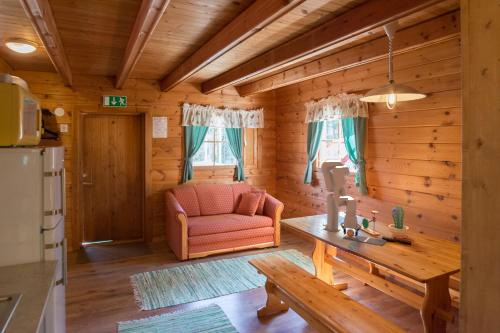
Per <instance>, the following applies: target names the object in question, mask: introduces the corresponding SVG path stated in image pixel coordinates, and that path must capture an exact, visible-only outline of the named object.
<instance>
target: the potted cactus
mask: <svg viewBox="0 0 500 333" xmlns="http://www.w3.org/2000/svg"><path fill="white" fill-rule="evenodd" d="M390 212H391V217H392V220H393V224H388V226H387V227H388V229H389V231H390V233H391V237H393V238H395V237H396V239H403V238H405V235H406V234H407V233H408V231H409V229H410V228H409V226H407V225H404V218H405V210H404V208H403V207H402V206H401V205H395V206H394V207H393V208H392V209H391V210H390Z"/></svg>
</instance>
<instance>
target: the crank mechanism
mask: <svg viewBox="0 0 500 333" xmlns="http://www.w3.org/2000/svg"><path fill="white" fill-rule="evenodd" d="M370 213H371V214H373V216H372V219H371V220H369V219H367V217H363V218H362V222H361V224H362V225H361V226H362V227H361V229H360V230H359V231H362V232H364V233H366V234H368V235H370V236H372V237H377V236H380V233H379V232H377V231H375V230H374V229H370V228H369V225H370V223H371V222H373V227H375V223H377V216H376V215H379V211H377V210H371V211H370ZM357 229H359V227H357Z"/></svg>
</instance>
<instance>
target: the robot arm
mask: <svg viewBox="0 0 500 333" xmlns="http://www.w3.org/2000/svg"><path fill="white" fill-rule="evenodd" d="M320 167H321V173H322V175H323V178H324V179H323V180H324V185H325V188H326V192H328V193H329V194H328V195H326V200H325V201H326V207H327V208H326V211H327V213H326V223H322V226H323V227H324V230H326V231H327V232H328V231H329V232H340V231H341V228H342V230H343V235H345V236H346V235H347V229H352V230H355V231H354V235H355V236H359V231H361V230H360V229H361V227H362V226H363V225H360V224H359V223H358V222H359V221H358V216H357V199H356V198H353V197H351V196H347V193H346V188H345V186H346V185H347V180H346V177H348V176H349V175H350V169H349V167H348V166H347V165H346V164H345V163H343V161H341V160H325V161H323V162H322V164H321V166H320ZM339 207H345V208H346V209H345V211H344V218H343V221H342V222H341V223H340V224H339V213H340V212H339ZM339 225H340V227H341V228H340V227H339ZM357 227H359V229H358V228H357Z"/></svg>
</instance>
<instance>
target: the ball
mask: <svg viewBox="0 0 500 333" xmlns="http://www.w3.org/2000/svg"><path fill="white" fill-rule="evenodd" d="M346 235H348V236H349V237H352V236H354V235H355V231H354V229H351V228H348V229H346Z"/></svg>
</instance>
